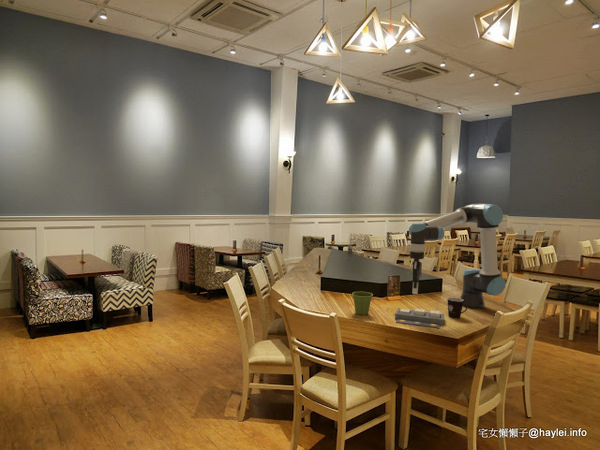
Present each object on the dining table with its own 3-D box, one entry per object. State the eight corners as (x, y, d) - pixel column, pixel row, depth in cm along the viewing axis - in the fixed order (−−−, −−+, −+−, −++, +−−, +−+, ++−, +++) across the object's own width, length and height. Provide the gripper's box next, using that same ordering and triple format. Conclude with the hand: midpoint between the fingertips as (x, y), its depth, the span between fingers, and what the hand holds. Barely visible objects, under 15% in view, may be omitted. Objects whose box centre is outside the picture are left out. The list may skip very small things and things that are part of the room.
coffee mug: (443, 314, 249) (444, 297, 248) (458, 314, 249) (459, 297, 249) (452, 320, 237) (453, 302, 236) (467, 320, 238) (468, 302, 237)
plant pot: (355, 309, 253) (356, 290, 252) (375, 312, 247) (376, 293, 246) (347, 314, 243) (348, 294, 242) (367, 317, 237) (368, 297, 236)
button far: (409, 314, 242) (410, 309, 241) (408, 316, 237) (409, 312, 237) (400, 312, 243) (401, 308, 243) (399, 315, 239) (399, 310, 239)
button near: (440, 315, 236) (440, 311, 236) (439, 318, 231) (439, 313, 231) (430, 314, 238) (430, 310, 238) (429, 317, 233) (430, 312, 233)
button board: (443, 319, 239) (444, 314, 239) (442, 325, 228) (443, 319, 227) (398, 313, 247) (398, 308, 247) (394, 318, 236) (395, 313, 236)
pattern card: (439, 325, 228) (439, 324, 228) (439, 328, 222) (439, 327, 222) (397, 319, 235) (397, 318, 235) (396, 322, 230) (396, 321, 230)
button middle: (424, 313, 239) (425, 309, 239) (424, 316, 234) (424, 312, 234) (415, 312, 241) (415, 308, 240) (414, 315, 236) (414, 310, 236)
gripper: (411, 249, 243) (409, 290, 245) (408, 252, 231) (406, 295, 233) (425, 250, 240) (423, 291, 242) (422, 253, 228) (420, 297, 230)
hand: (415, 293), depth 238 cm, fingers closed
